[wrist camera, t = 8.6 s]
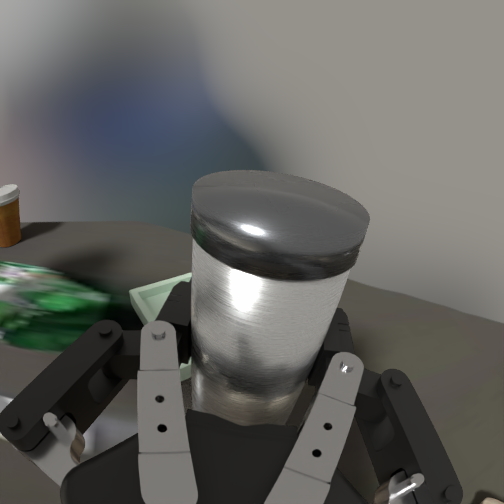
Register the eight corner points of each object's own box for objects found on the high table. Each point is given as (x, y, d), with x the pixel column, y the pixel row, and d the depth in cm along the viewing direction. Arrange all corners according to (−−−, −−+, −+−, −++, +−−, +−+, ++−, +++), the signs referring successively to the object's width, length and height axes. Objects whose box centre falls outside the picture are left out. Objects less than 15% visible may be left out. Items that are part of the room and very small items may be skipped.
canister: (223, 490, 13) (279, 255, 5) (177, 429, 17) (163, 176, 9) (288, 448, 16) (397, 218, 8) (240, 398, 20) (284, 167, 12)
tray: (180, 381, 32) (179, 368, 30) (130, 303, 42) (129, 290, 41) (282, 333, 41) (285, 320, 40) (219, 276, 51) (220, 264, 50)
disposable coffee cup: (8, 230, 54) (0, 184, 49) (34, 232, 55) (26, 183, 50) (-14, 249, 46) (-26, 199, 40) (12, 253, 47) (0, 199, 41)
